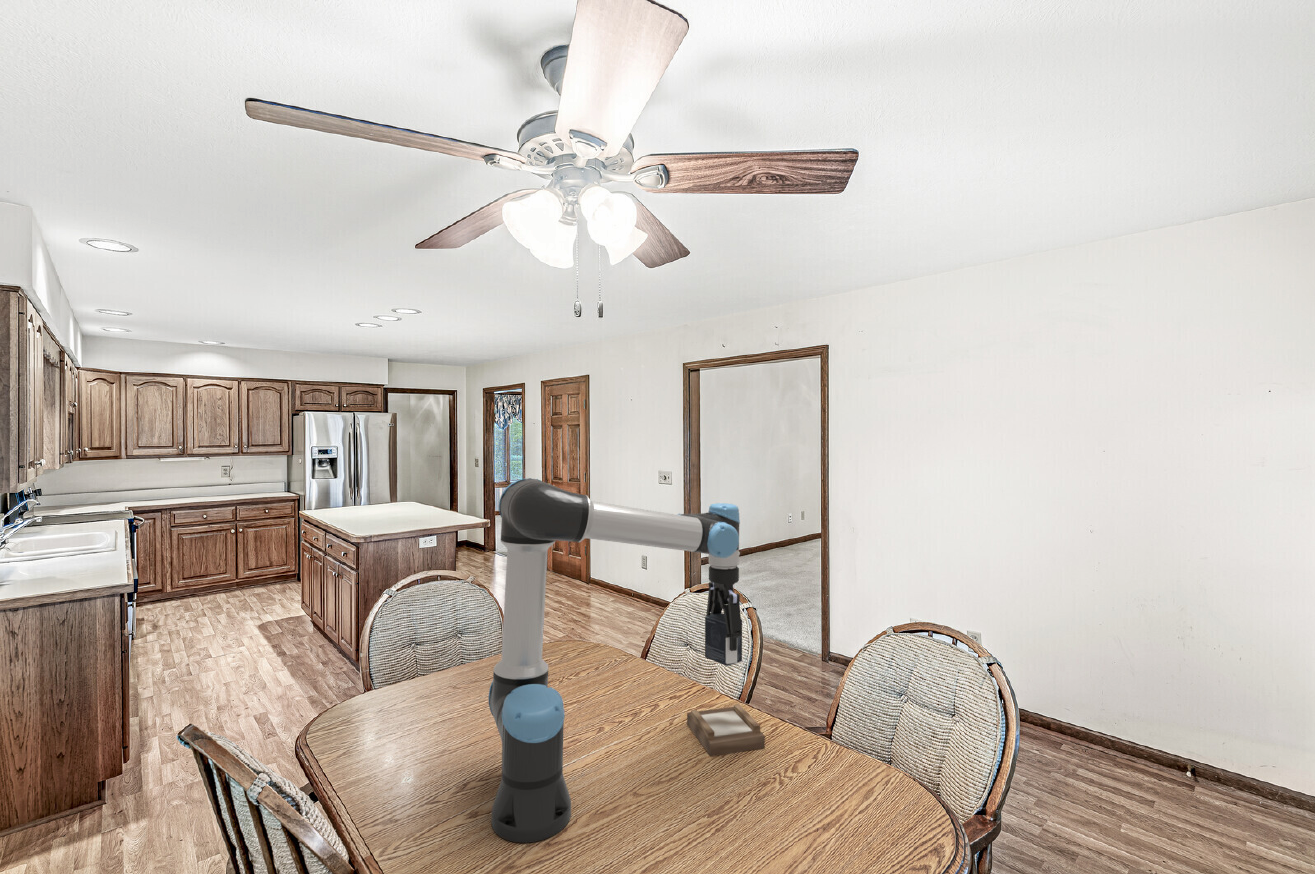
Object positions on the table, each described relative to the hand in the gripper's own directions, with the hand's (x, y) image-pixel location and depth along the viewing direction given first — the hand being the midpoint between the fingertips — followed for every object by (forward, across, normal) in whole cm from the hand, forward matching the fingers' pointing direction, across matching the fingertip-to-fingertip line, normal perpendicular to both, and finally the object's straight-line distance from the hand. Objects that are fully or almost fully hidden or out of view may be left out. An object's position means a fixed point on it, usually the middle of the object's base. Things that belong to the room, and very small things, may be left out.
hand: (723, 655), depth 147 cm
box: (+1, 0, 0) cm, 1 cm away
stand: (+20, 0, 0) cm, 20 cm away
